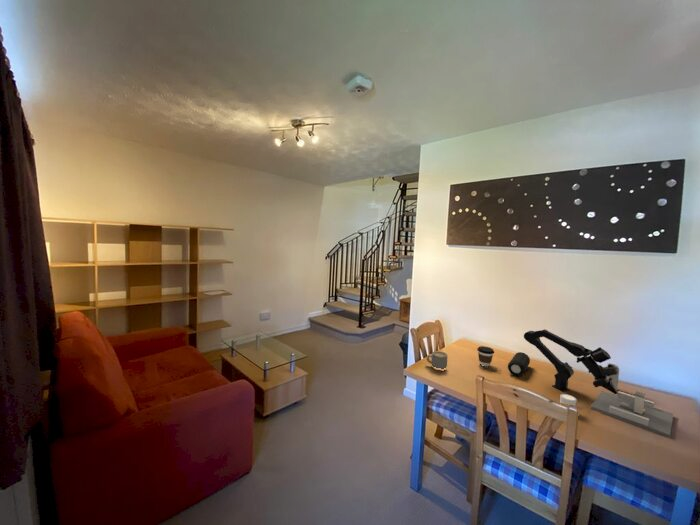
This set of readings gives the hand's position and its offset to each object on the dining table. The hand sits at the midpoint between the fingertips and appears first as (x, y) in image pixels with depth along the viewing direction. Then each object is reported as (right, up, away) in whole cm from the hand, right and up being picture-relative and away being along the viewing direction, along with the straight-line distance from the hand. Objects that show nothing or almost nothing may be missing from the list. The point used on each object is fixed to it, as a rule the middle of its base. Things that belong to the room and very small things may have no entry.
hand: (616, 393), depth 153 cm
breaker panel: (+4, -8, -4) cm, 10 cm away
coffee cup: (-48, -3, +49) cm, 69 cm away
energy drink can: (+15, -7, +21) cm, 27 cm away
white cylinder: (-29, -7, -4) cm, 30 cm away
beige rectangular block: (+5, -6, -6) cm, 10 cm away
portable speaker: (-28, -4, +42) cm, 51 cm away
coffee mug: (-84, -2, +43) cm, 94 cm away
